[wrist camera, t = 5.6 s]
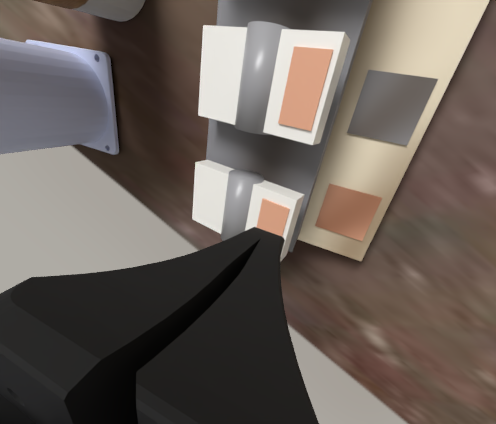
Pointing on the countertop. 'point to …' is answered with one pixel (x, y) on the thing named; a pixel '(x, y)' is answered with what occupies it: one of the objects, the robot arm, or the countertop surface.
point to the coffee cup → (102, 7)
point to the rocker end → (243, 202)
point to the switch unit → (354, 109)
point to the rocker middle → (271, 78)
